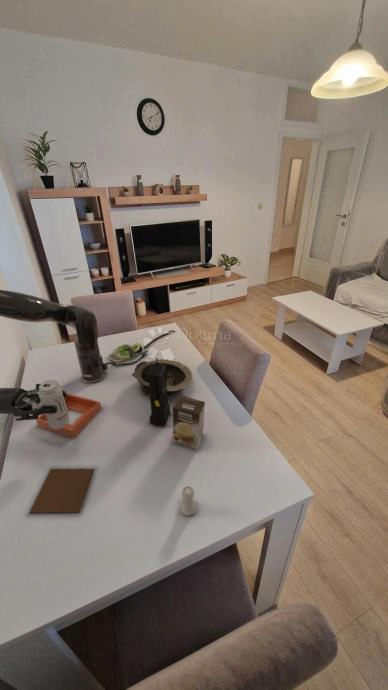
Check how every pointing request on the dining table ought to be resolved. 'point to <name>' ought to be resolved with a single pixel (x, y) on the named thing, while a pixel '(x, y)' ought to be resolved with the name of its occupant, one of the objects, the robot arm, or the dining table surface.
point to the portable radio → (158, 394)
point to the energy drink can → (54, 403)
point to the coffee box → (188, 422)
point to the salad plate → (127, 353)
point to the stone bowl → (175, 375)
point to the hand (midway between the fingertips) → (61, 401)
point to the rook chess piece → (187, 501)
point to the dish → (78, 404)
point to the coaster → (63, 491)
